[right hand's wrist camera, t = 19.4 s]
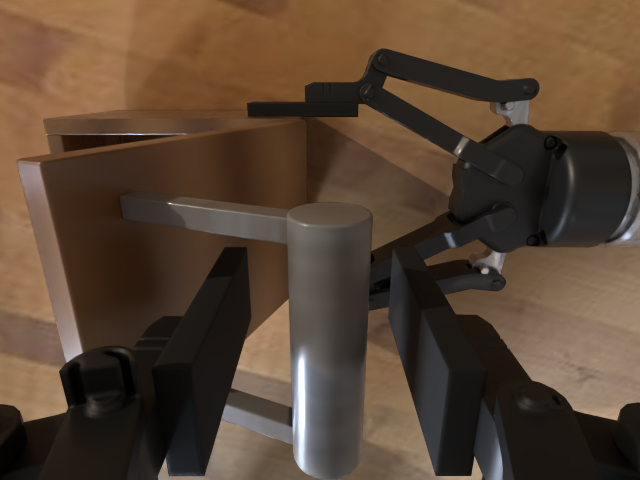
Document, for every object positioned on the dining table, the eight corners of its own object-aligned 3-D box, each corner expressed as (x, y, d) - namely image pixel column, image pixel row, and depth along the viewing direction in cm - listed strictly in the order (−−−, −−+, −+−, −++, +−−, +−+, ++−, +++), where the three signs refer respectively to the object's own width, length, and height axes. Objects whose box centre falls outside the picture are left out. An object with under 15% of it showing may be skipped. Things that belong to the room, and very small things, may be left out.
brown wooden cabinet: (137, 228, 35) (76, 276, 26) (118, 110, 31) (42, 118, 23) (304, 227, 35) (301, 275, 26) (303, 109, 32) (299, 118, 23)
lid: (88, 458, 13) (329, 569, 10) (13, 159, 10) (333, 191, 7) (294, 277, 26) (430, 303, 23) (291, 119, 22) (448, 124, 19)
